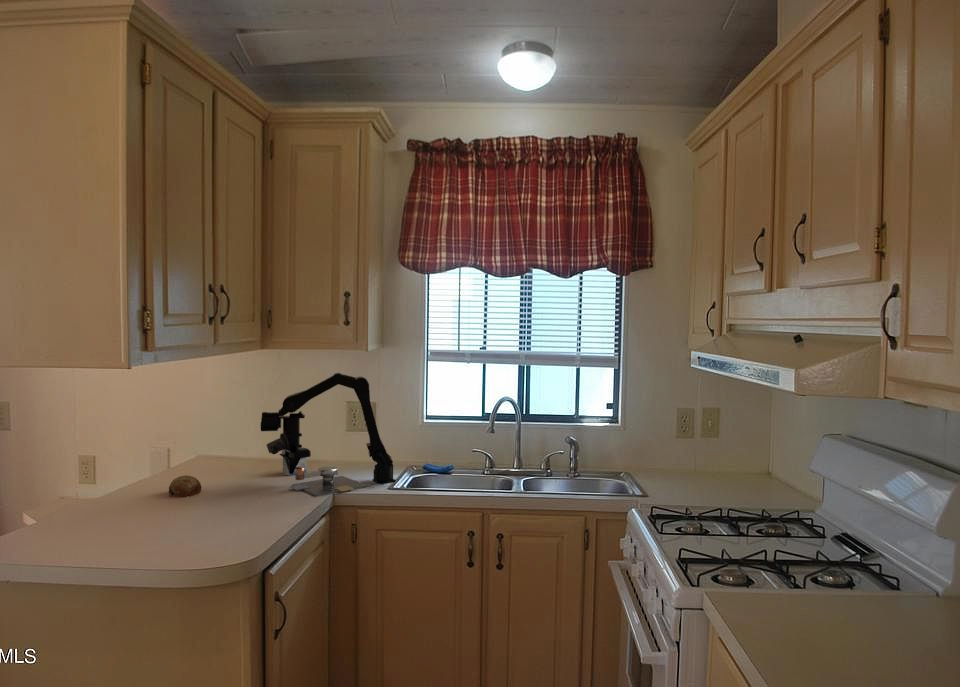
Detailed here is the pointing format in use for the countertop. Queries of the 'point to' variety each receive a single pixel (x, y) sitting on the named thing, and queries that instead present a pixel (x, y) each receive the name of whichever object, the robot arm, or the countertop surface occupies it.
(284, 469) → the medicine box
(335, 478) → the post base
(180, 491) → the bread roll
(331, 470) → the collar lever
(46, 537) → the countertop surface
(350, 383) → the robot arm
